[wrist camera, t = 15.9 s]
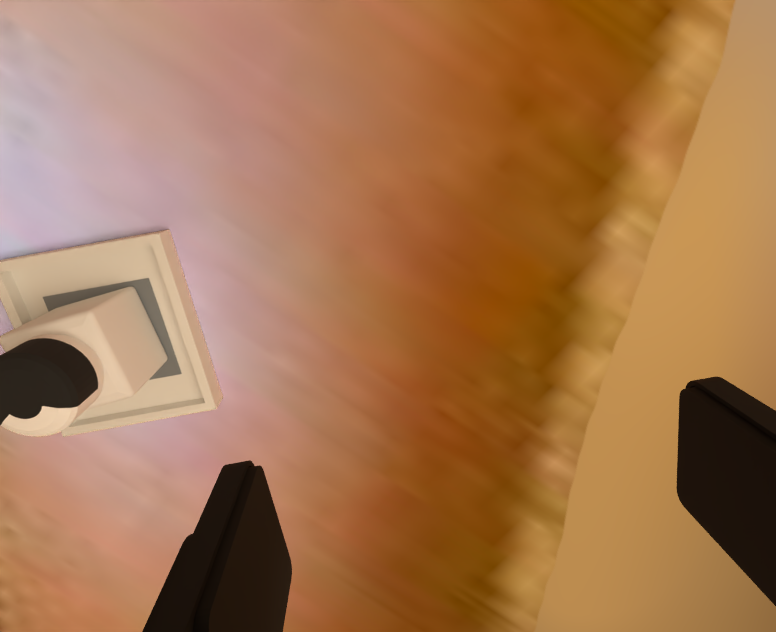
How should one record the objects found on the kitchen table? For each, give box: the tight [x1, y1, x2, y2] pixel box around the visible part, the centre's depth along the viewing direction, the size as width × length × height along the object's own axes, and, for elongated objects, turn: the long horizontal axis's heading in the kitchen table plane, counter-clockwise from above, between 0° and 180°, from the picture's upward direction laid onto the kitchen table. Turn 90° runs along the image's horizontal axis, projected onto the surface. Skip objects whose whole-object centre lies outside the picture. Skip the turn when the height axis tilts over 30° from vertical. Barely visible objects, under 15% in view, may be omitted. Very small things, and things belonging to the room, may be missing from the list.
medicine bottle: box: [0, 287, 168, 437], centre depth 36 cm, size 7×7×12 cm
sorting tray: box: [0, 229, 223, 437], centre depth 41 cm, size 16×14×2 cm
